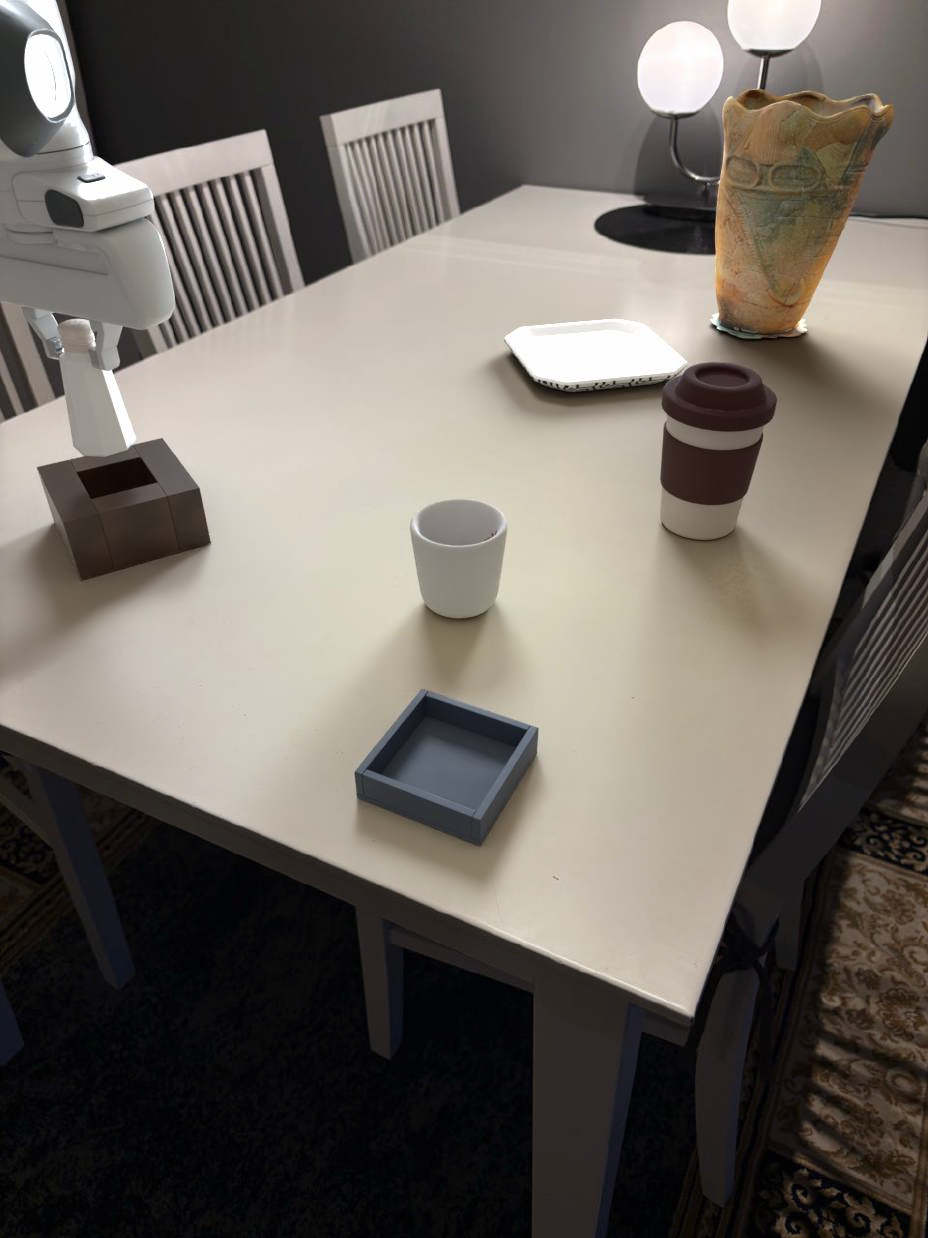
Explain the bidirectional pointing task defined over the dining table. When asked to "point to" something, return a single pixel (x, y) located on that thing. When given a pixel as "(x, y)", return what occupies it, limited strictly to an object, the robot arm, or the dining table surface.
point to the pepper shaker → (91, 396)
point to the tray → (448, 765)
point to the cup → (459, 555)
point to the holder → (124, 507)
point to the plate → (594, 355)
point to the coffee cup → (711, 446)
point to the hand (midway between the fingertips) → (84, 362)
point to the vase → (786, 201)
